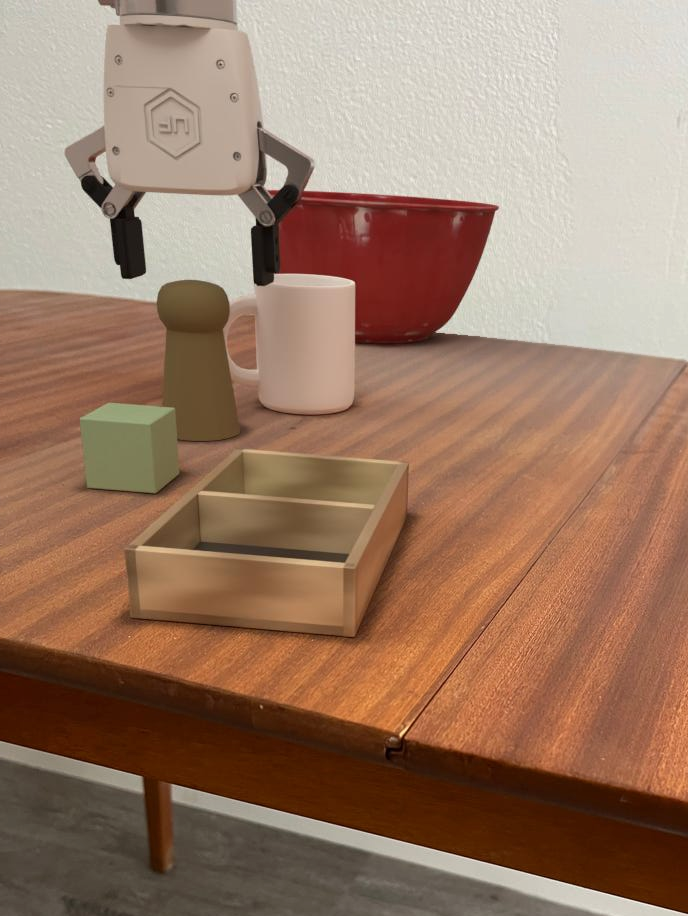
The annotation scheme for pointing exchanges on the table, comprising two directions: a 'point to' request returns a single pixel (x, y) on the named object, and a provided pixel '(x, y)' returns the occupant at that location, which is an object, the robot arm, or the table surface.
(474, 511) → the table surface
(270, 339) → the mug
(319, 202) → the mixing bowl
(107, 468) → the green block
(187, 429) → the olive pawn
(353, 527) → the tray
